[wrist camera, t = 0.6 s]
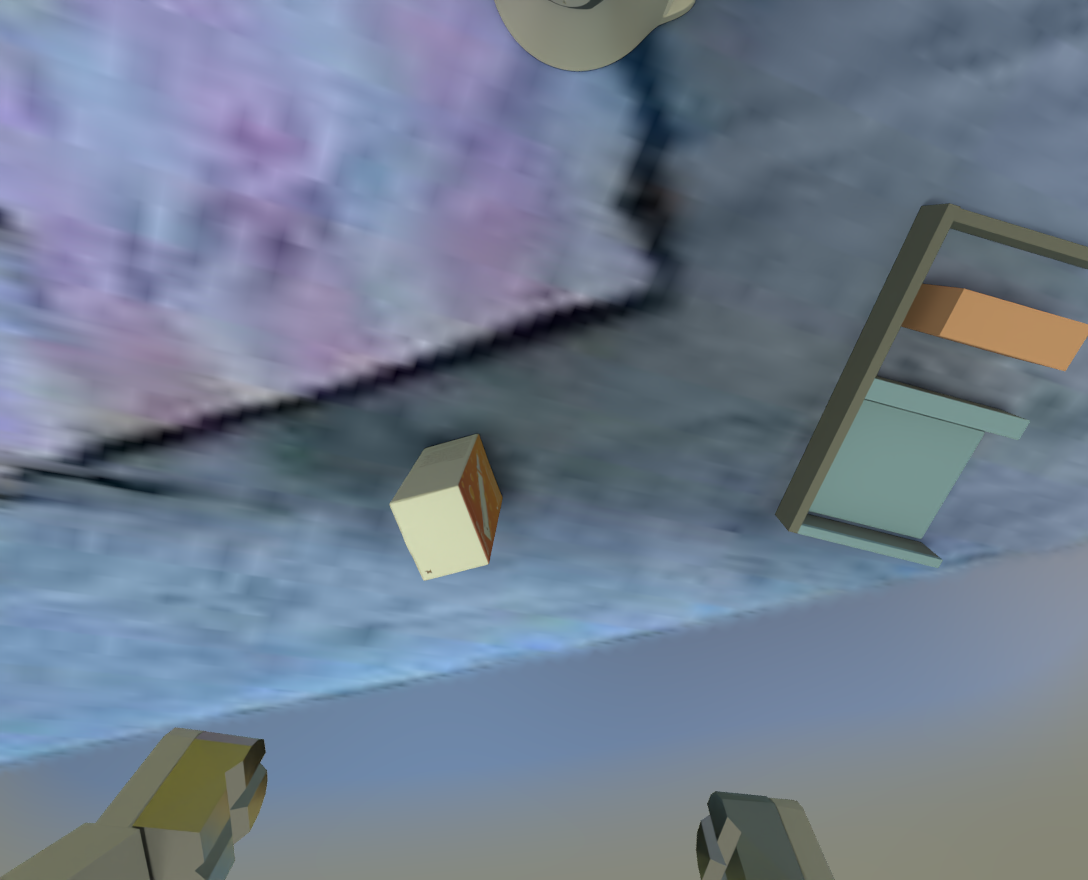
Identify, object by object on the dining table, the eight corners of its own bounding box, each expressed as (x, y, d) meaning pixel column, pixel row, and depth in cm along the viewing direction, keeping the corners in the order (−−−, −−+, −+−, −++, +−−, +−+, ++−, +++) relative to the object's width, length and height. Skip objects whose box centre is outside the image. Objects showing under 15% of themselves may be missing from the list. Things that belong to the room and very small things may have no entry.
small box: (504, 497, 58) (490, 566, 45) (449, 512, 58) (422, 583, 46) (479, 430, 55) (458, 484, 43) (423, 446, 56) (386, 504, 43)
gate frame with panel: (921, 206, 47) (949, 203, 43) (1092, 257, 48) (1132, 258, 45) (775, 514, 58) (788, 531, 54) (916, 549, 59) (938, 568, 56)
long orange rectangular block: (917, 283, 49) (964, 288, 43) (1033, 316, 50) (1093, 326, 44) (896, 325, 50) (939, 335, 45) (1009, 356, 51) (1065, 371, 46)
